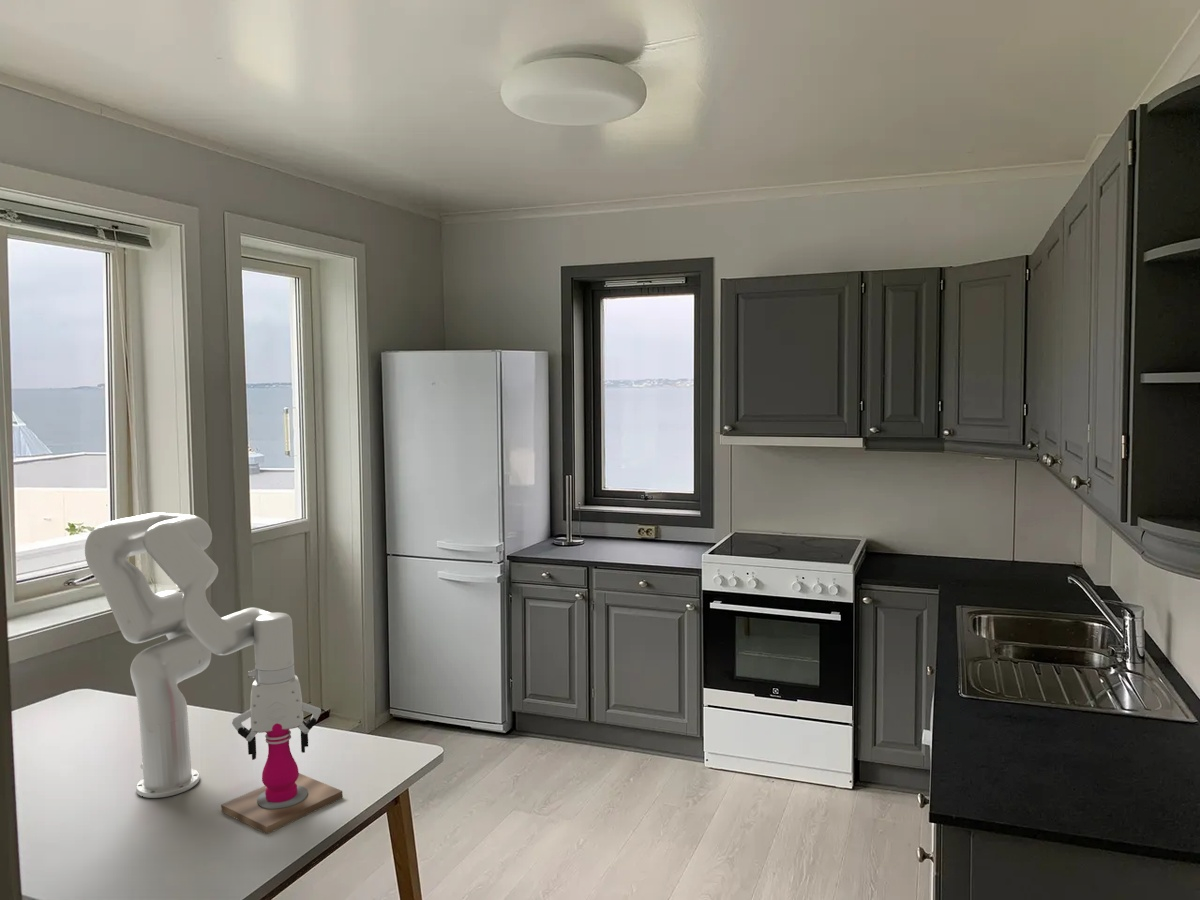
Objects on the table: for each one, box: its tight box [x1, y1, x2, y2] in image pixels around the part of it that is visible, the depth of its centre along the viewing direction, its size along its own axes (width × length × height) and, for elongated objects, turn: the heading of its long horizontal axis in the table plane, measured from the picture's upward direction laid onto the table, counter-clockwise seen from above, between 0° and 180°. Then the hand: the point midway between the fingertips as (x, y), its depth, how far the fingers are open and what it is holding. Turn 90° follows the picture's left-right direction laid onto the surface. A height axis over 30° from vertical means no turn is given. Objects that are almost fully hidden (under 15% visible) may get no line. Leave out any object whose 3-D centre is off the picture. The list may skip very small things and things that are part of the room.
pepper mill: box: [261, 723, 300, 803], centre depth 187 cm, size 7×7×20 cm
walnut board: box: [220, 772, 344, 835], centre depth 188 cm, size 16×18×2 cm
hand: (278, 753), depth 187 cm, fingers open, 9 cm apart
